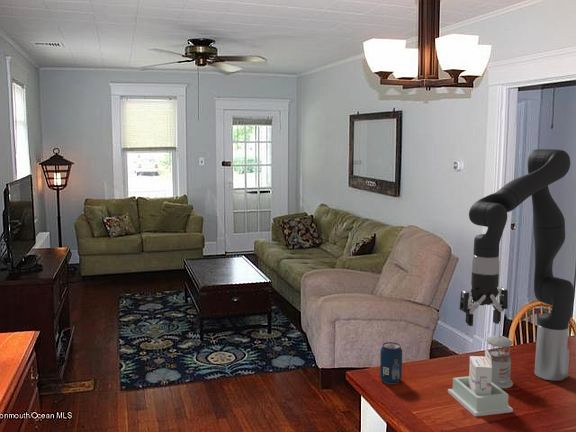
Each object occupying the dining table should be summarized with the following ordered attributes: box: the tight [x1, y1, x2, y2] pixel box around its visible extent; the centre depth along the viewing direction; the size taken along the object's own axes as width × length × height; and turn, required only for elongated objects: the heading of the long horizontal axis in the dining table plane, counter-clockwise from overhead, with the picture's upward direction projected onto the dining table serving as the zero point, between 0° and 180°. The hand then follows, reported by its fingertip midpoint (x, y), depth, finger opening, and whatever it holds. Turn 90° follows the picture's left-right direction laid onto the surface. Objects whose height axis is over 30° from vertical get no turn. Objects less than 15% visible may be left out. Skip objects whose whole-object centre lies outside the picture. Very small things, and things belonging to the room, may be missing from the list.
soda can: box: [379, 341, 403, 385], centre depth 188 cm, size 7×7×12 cm
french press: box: [485, 309, 514, 389], centre depth 187 cm, size 10×12×25 cm
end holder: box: [447, 375, 514, 417], centre depth 174 cm, size 12×16×5 cm
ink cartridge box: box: [468, 347, 493, 396], centre depth 173 cm, size 9×5×15 cm, turn 175°
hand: (482, 324), depth 171 cm, fingers open, 8 cm apart
